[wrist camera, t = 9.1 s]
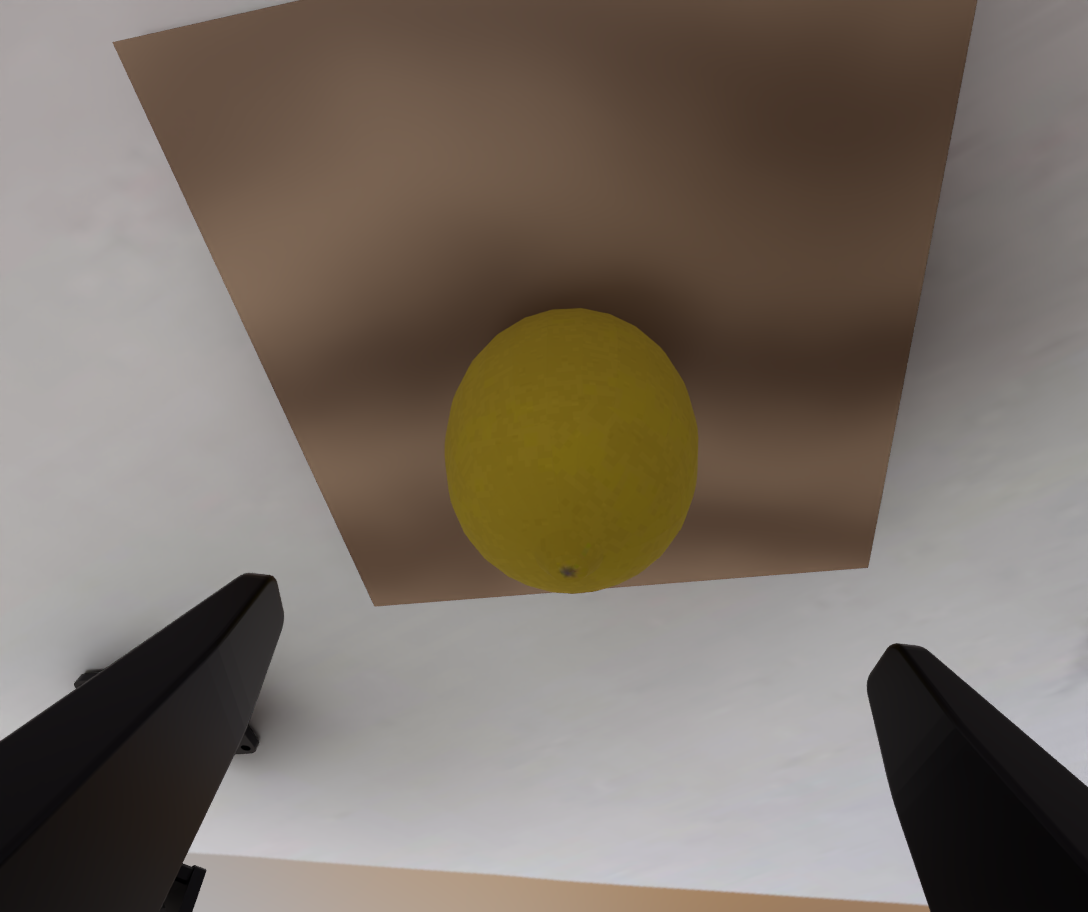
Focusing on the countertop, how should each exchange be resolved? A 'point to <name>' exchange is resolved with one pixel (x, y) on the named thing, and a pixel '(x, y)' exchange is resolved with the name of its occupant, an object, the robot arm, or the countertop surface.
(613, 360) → the lemon
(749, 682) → the countertop surface
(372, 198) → the walnut board
